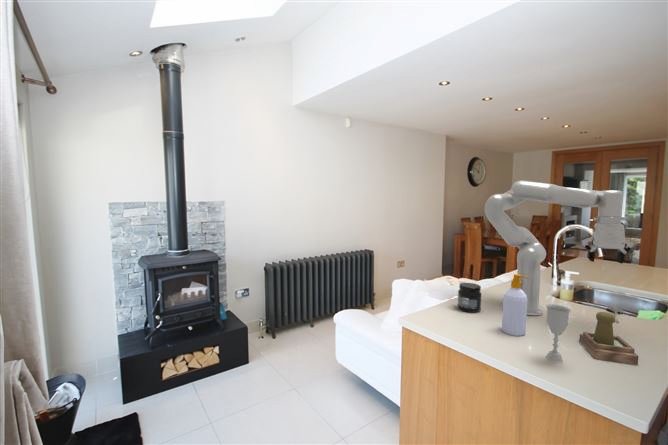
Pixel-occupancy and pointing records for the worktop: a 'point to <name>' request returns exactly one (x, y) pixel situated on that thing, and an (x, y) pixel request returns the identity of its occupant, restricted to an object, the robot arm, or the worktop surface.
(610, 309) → the soupspoon
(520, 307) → the soap bottle
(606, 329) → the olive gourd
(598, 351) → the brown wooden flat frame
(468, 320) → the worktop surface
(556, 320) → the chalice
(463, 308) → the supplement container
